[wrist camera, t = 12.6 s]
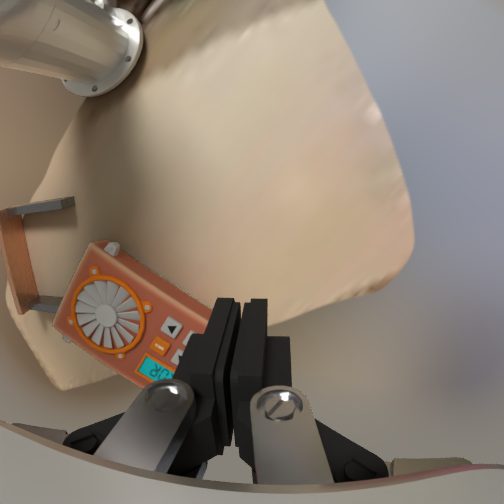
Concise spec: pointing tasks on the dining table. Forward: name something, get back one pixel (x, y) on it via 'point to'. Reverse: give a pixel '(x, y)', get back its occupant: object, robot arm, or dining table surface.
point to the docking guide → (25, 255)
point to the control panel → (128, 315)
